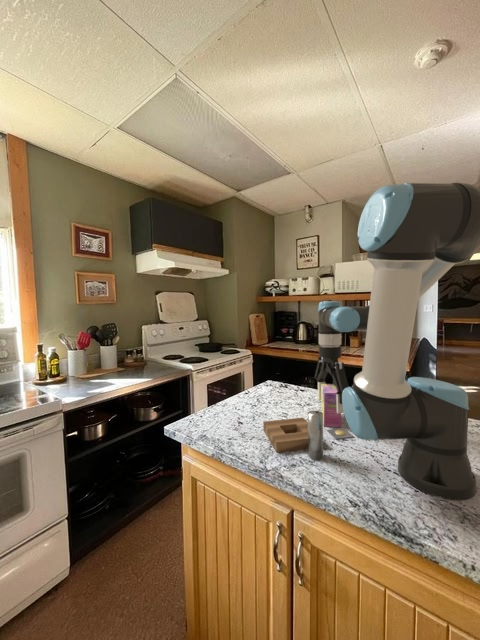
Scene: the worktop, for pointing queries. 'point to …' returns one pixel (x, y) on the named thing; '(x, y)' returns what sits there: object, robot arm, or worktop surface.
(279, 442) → the board
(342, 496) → the worktop surface
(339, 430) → the marker tile
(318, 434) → the peg
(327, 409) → the box
